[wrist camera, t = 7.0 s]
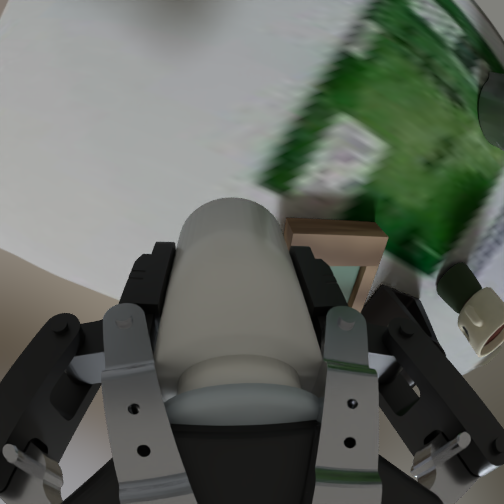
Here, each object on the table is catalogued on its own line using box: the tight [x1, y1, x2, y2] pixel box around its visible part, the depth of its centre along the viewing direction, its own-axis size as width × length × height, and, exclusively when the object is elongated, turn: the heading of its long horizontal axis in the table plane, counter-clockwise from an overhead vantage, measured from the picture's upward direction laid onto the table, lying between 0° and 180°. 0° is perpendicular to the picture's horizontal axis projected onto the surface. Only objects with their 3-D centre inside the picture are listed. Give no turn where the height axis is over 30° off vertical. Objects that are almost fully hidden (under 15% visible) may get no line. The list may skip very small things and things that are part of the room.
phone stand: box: [361, 285, 446, 388], centre depth 32 cm, size 9×6×12 cm, turn 64°
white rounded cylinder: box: [154, 198, 323, 426], centre depth 9 cm, size 5×5×8 cm
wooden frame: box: [284, 218, 388, 313], centre depth 31 cm, size 14×10×3 cm
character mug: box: [437, 262, 504, 357], centre depth 30 cm, size 11×7×13 cm, turn 65°
